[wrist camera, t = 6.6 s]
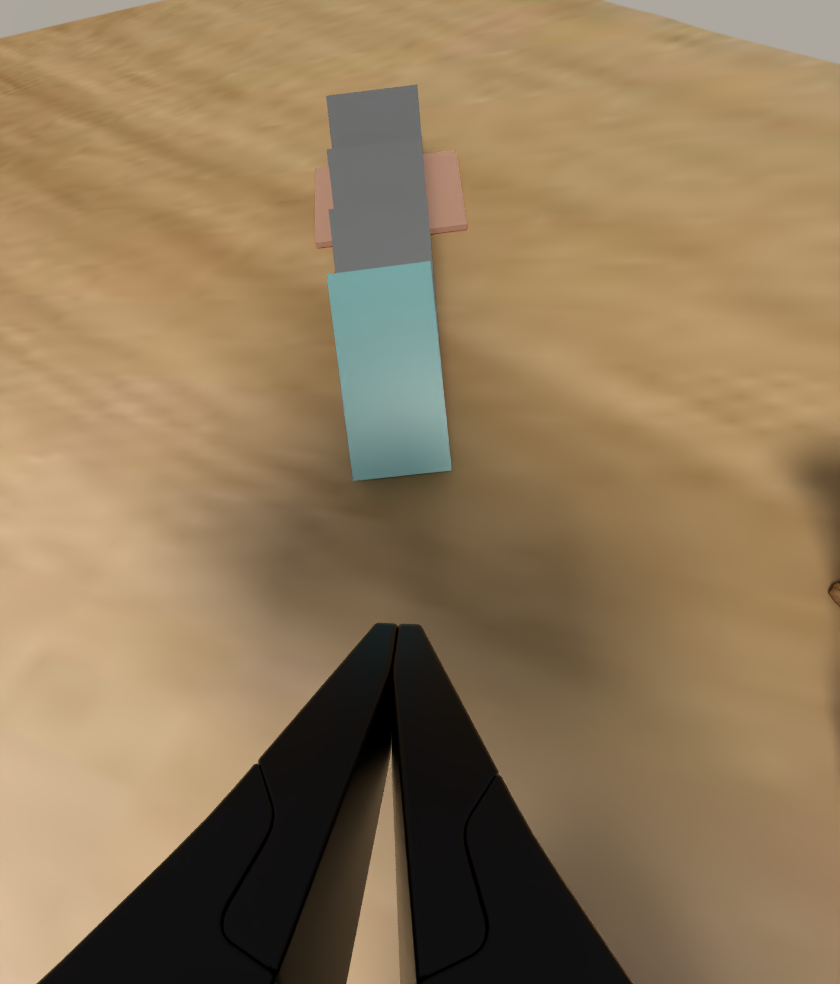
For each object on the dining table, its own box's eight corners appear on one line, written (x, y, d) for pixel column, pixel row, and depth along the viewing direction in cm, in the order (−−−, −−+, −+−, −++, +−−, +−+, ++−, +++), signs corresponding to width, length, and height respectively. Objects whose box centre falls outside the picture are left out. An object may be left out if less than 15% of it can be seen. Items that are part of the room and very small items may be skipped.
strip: (466, 229, 29) (466, 224, 29) (316, 248, 30) (315, 243, 29) (455, 155, 31) (455, 149, 31) (316, 173, 32) (315, 168, 32)
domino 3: (444, 400, 24) (427, 197, 22) (350, 409, 24) (328, 209, 22) (443, 402, 25) (427, 213, 24) (356, 411, 25) (335, 223, 24)
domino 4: (451, 470, 22) (430, 261, 21) (352, 481, 22) (326, 274, 21) (450, 468, 24) (430, 273, 23) (358, 478, 24) (333, 285, 23)
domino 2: (438, 337, 25) (421, 137, 23) (349, 346, 25) (326, 149, 23) (437, 342, 26) (422, 155, 25) (354, 350, 27) (333, 166, 25)
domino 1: (432, 280, 26) (417, 84, 24) (347, 289, 26) (326, 95, 24) (432, 288, 27) (418, 104, 26) (352, 296, 28) (332, 115, 26)
